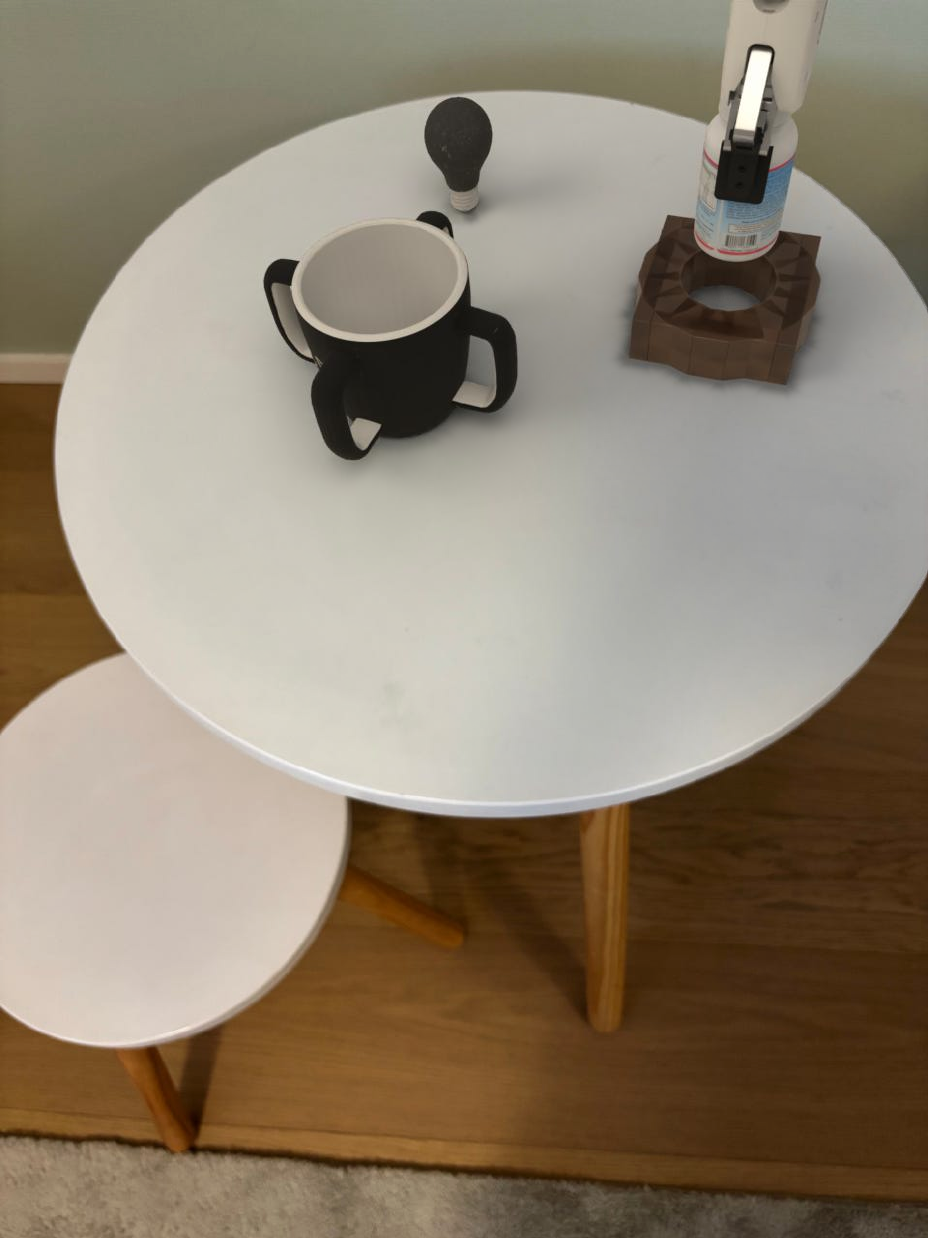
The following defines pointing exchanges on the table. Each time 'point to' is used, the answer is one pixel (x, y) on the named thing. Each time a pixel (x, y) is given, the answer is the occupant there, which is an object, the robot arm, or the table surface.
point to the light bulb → (459, 147)
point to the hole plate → (717, 337)
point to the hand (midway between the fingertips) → (748, 163)
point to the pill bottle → (736, 224)
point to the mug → (388, 330)
